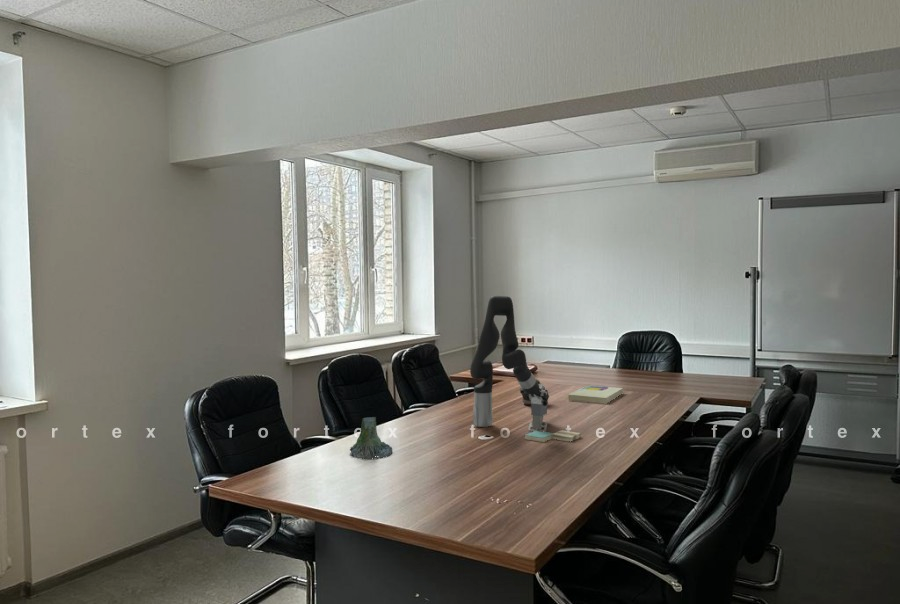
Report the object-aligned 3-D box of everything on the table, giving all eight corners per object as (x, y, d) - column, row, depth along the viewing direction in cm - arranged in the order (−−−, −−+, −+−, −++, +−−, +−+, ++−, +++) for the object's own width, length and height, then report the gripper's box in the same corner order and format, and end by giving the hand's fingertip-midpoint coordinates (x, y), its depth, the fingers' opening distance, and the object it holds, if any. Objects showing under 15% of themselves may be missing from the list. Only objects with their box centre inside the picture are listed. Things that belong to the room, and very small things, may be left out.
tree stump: (352, 462, 267) (348, 419, 270) (349, 461, 286) (345, 420, 289) (395, 456, 271) (391, 414, 275) (389, 455, 290) (385, 415, 294)
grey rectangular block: (540, 416, 294) (540, 392, 294) (531, 414, 297) (531, 391, 297) (547, 413, 299) (546, 390, 298) (537, 412, 302) (537, 389, 301)
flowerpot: (549, 403, 379) (548, 369, 379) (538, 407, 367) (537, 373, 366) (526, 400, 387) (526, 368, 386) (515, 405, 374) (515, 371, 374)
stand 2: (570, 441, 291) (570, 437, 291) (551, 438, 297) (551, 434, 297) (580, 437, 299) (580, 433, 299) (561, 434, 305) (561, 430, 305)
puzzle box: (567, 401, 385) (606, 405, 373) (567, 394, 385) (606, 397, 373) (587, 392, 416) (624, 394, 404) (587, 385, 416) (624, 387, 403)
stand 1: (543, 442, 292) (543, 437, 291) (524, 439, 298) (524, 434, 297) (554, 437, 299) (554, 433, 299) (535, 434, 306) (535, 430, 305)
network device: (545, 433, 307) (544, 392, 306) (527, 433, 309) (526, 392, 308) (547, 421, 332) (547, 383, 331) (531, 421, 334) (530, 383, 333)
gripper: (544, 376, 287) (557, 398, 297) (517, 374, 296) (530, 395, 306) (538, 390, 283) (552, 412, 293) (511, 387, 292) (525, 408, 302)
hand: (541, 403), depth 299 cm, fingers closed on grey rectangular block, 5 cm apart
